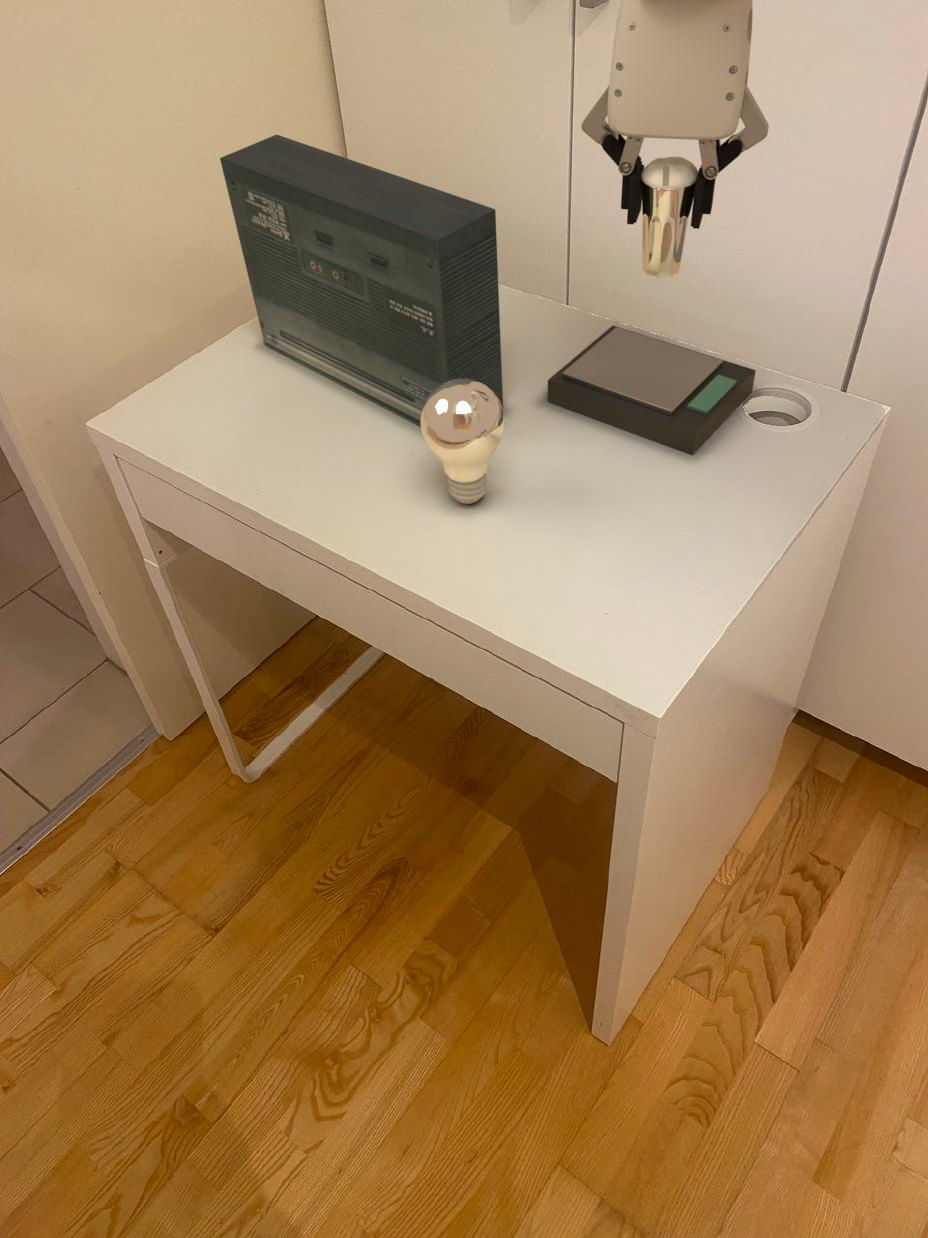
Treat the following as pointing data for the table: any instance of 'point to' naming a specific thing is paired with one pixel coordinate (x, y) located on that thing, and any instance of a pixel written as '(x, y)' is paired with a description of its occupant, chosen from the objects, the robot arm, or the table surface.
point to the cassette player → (367, 273)
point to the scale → (651, 388)
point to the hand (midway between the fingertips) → (665, 216)
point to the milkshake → (666, 213)
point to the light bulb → (463, 433)
